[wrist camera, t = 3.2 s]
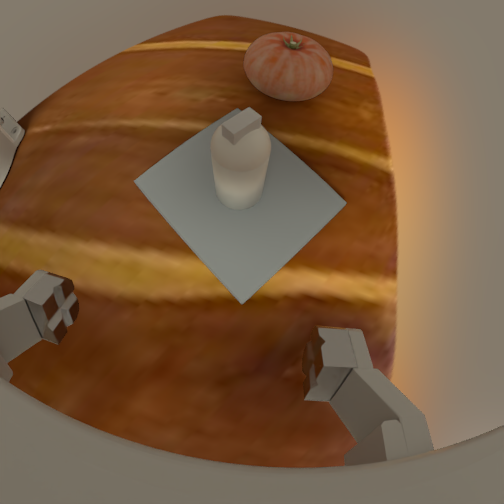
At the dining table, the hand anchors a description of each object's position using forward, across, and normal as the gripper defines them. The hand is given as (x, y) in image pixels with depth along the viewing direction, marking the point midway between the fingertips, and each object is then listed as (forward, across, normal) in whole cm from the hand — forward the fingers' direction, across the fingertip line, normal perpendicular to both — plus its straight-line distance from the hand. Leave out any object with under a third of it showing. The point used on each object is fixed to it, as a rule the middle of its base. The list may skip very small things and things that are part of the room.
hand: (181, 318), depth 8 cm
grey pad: (+20, 0, +2) cm, 20 cm away
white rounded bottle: (+19, 0, +2) cm, 19 cm away
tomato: (+32, -3, -9) cm, 34 cm away
